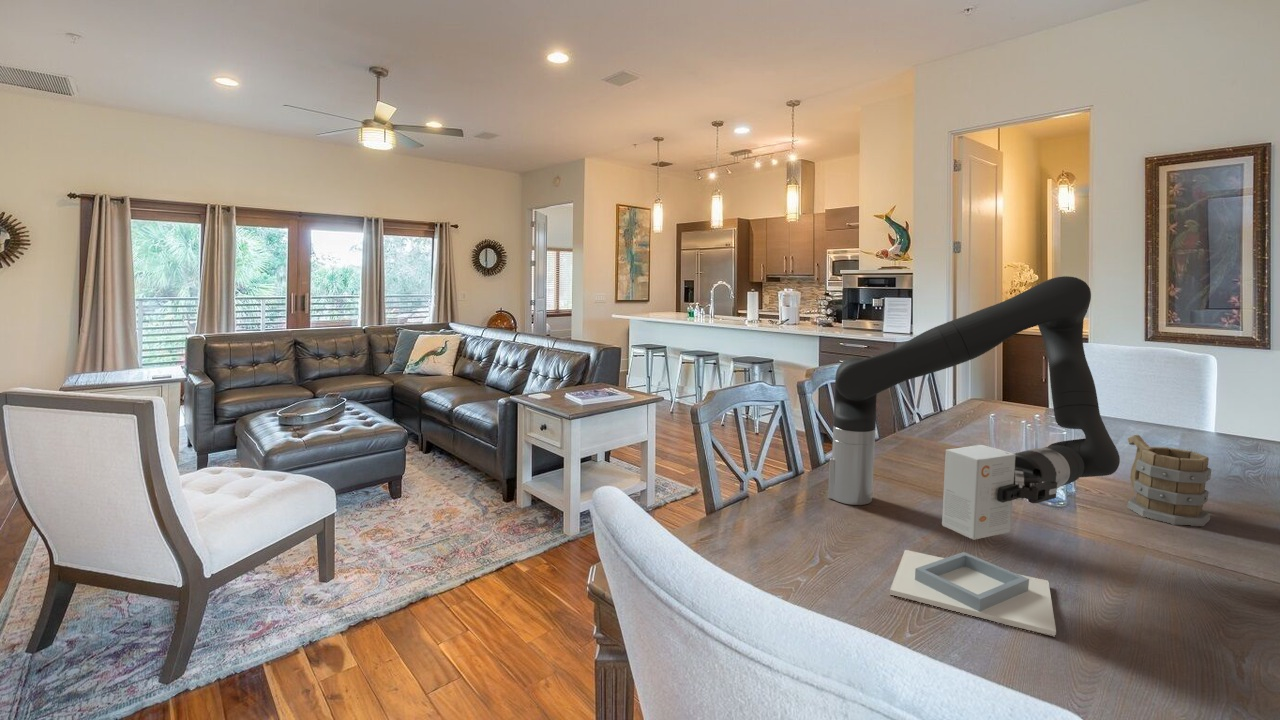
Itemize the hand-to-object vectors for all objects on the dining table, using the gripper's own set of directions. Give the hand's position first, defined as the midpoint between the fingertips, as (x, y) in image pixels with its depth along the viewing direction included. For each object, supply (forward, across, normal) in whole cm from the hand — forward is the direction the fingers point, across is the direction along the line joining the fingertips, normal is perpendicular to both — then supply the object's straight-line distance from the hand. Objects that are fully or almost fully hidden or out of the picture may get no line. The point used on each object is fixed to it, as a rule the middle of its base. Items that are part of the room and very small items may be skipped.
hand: (976, 488), depth 94 cm
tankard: (-72, -2, +18) cm, 75 cm away
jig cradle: (0, 0, +18) cm, 18 cm away
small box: (-1, 0, +7) cm, 7 cm away
